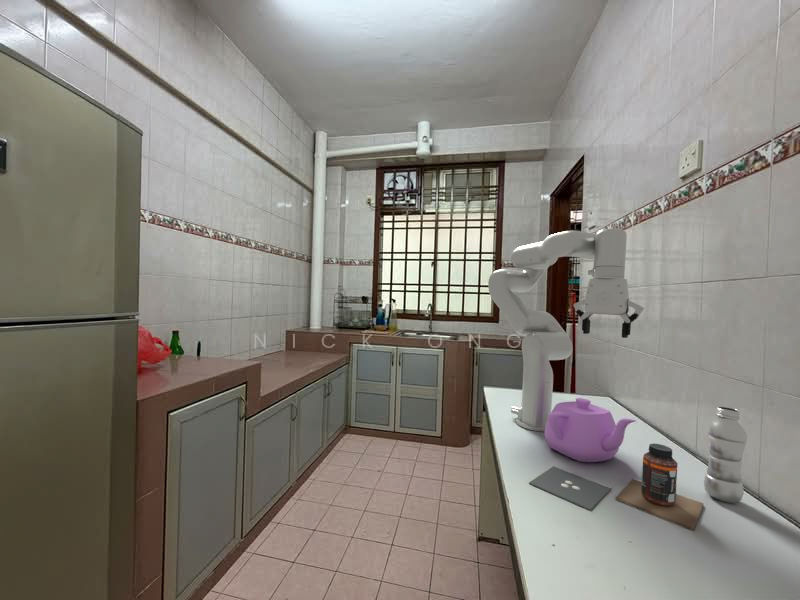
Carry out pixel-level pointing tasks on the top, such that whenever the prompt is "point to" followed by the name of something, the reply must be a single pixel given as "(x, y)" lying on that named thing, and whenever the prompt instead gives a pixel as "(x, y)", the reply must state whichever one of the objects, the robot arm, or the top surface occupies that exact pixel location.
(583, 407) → the teapot
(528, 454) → the top surface
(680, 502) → the walnut board
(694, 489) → the top surface
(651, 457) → the supplement bottle
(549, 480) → the dot mat
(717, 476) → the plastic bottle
